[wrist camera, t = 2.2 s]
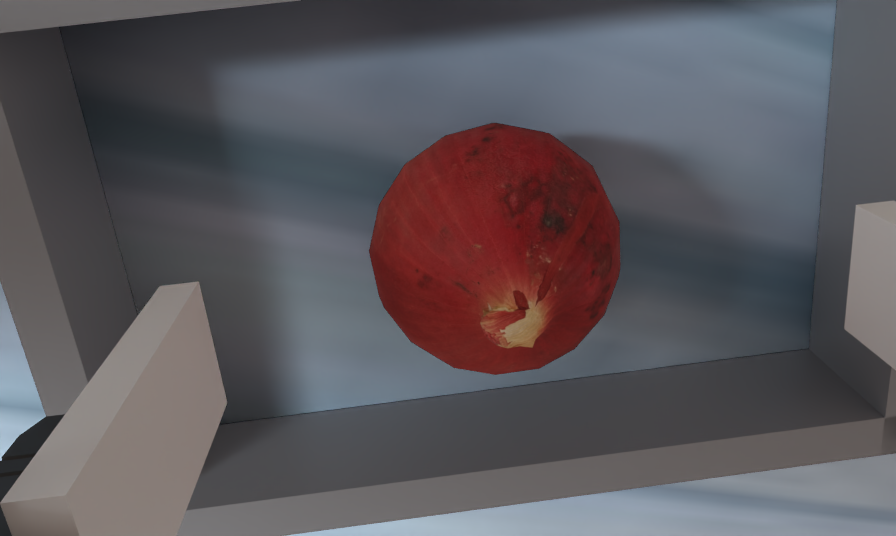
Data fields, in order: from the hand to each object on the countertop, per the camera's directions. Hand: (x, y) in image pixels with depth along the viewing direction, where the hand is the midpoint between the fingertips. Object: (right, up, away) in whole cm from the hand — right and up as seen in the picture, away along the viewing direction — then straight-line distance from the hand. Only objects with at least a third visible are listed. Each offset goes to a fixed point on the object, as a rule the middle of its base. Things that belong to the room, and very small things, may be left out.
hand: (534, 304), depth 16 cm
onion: (-1, +3, +7) cm, 7 cm away
